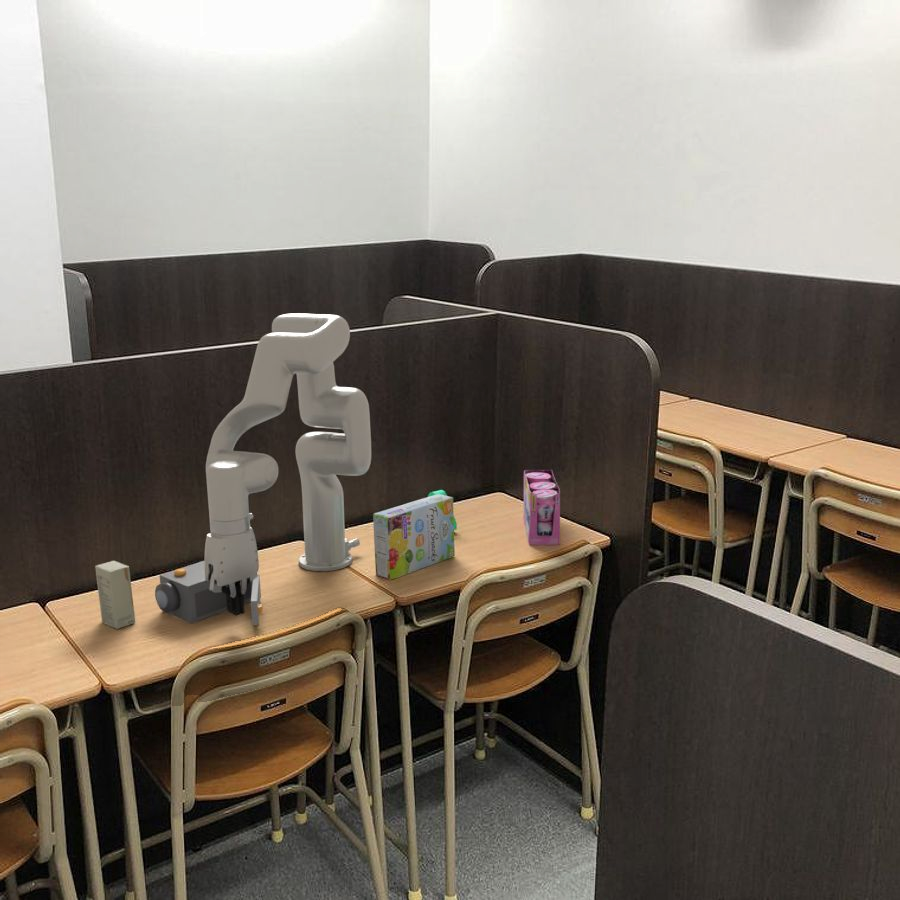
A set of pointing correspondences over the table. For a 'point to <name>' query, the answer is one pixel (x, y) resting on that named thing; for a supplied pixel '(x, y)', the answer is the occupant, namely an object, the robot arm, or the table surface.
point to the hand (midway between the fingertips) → (236, 612)
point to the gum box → (541, 507)
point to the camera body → (191, 594)
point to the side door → (256, 601)
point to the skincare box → (115, 594)
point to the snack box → (413, 536)
